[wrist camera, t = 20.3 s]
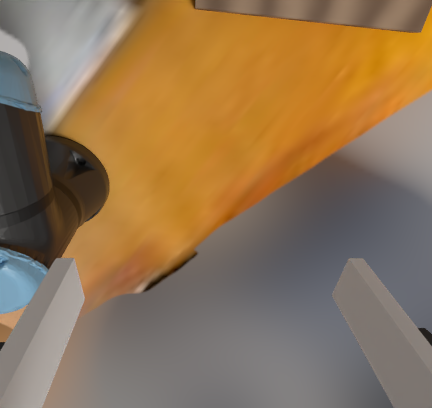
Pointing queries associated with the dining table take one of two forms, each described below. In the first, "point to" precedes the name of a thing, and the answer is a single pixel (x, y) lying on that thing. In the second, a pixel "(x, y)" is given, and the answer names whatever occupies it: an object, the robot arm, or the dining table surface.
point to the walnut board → (333, 11)
